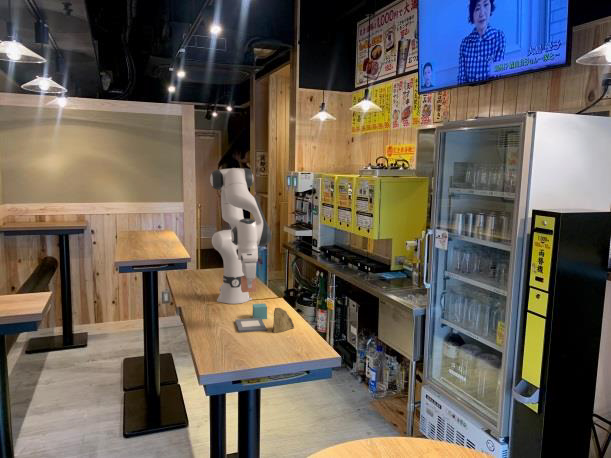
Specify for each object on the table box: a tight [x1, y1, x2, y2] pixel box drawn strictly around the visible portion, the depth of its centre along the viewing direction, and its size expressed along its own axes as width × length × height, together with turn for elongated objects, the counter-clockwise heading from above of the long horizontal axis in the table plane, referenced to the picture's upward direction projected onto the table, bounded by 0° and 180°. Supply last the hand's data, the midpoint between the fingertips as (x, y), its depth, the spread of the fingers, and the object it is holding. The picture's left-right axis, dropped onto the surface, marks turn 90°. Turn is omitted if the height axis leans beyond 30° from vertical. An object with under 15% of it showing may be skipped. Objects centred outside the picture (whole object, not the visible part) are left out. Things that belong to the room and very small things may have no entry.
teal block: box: [252, 303, 268, 320], centre depth 220 cm, size 6×6×6 cm
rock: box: [272, 307, 295, 334], centre depth 202 cm, size 11×9×10 cm
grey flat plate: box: [235, 317, 267, 334], centre depth 207 cm, size 16×12×1 cm
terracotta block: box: [241, 276, 257, 293], centre depth 206 cm, size 6×6×6 cm
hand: (248, 286), depth 206 cm, fingers closed on terracotta block, 6 cm apart
